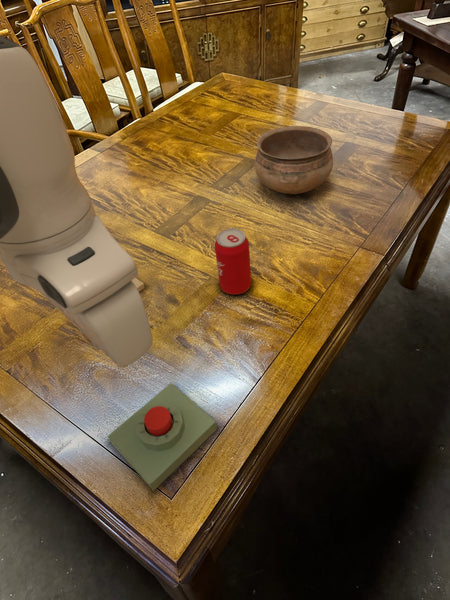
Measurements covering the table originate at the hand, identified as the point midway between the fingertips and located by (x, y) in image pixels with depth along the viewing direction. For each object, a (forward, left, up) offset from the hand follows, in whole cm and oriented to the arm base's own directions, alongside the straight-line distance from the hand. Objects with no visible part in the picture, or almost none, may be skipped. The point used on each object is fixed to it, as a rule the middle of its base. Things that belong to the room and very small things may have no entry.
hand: (97, 340), depth 47 cm
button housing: (+2, -3, -21) cm, 22 cm away
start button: (+2, -3, -18) cm, 18 cm away
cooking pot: (+68, +25, -22) cm, 76 cm away
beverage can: (+32, +11, -22) cm, 40 cm away
